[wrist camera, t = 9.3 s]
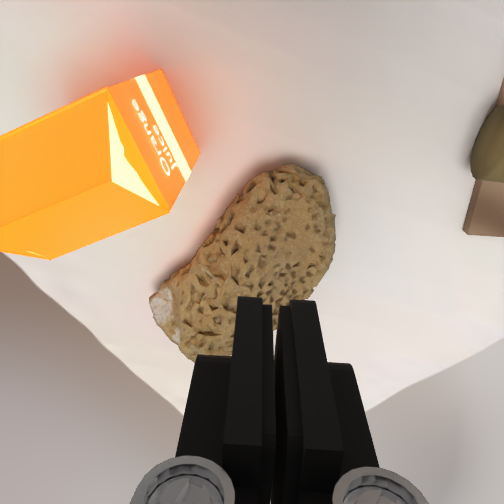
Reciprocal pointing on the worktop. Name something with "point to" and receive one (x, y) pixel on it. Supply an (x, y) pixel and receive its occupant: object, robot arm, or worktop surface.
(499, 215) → the walnut board
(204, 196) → the worktop surface
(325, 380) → the robot arm
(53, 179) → the orange juice
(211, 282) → the sponge
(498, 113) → the cork
